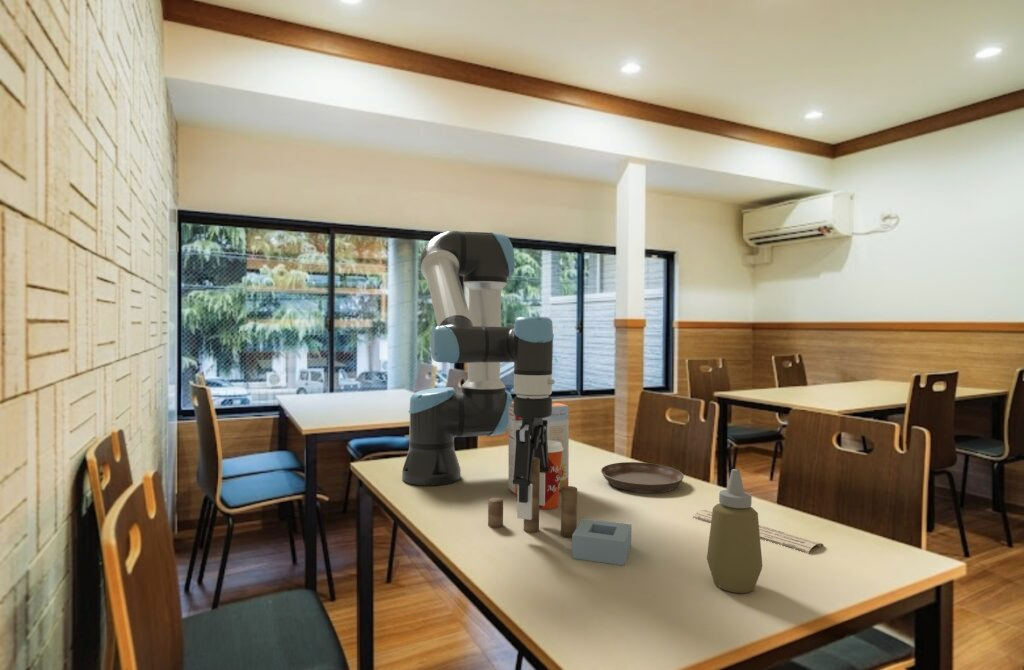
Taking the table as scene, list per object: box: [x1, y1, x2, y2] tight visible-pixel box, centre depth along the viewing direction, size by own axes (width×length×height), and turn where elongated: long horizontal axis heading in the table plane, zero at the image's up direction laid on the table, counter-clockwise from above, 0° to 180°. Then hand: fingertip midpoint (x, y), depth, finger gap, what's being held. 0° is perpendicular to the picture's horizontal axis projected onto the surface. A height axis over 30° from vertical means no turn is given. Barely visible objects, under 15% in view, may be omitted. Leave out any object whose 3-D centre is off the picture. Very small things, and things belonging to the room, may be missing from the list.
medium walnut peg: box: [560, 485, 578, 539], centre depth 108 cm, size 3×3×9 cm
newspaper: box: [692, 509, 824, 555], centre depth 112 cm, size 24×7×2 cm, turn 38°
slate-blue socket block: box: [571, 518, 632, 567], centre depth 100 cm, size 9×9×4 cm
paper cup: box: [539, 440, 564, 510], centre depth 126 cm, size 8×8×14 cm
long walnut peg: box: [523, 457, 540, 534], centre depth 111 cm, size 3×3×14 cm
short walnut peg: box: [487, 497, 504, 529], centre depth 113 cm, size 3×3×5 cm
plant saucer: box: [600, 461, 685, 494], centre depth 145 cm, size 21×21×3 cm
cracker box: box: [507, 402, 570, 495], centre depth 138 cm, size 14×6×21 cm, turn 108°
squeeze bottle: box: [706, 468, 763, 594], centre depth 88 cm, size 8×8×18 cm
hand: (531, 511), depth 111 cm, fingers open, 8 cm apart
